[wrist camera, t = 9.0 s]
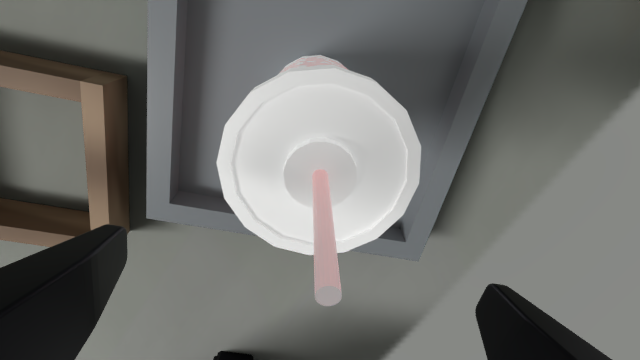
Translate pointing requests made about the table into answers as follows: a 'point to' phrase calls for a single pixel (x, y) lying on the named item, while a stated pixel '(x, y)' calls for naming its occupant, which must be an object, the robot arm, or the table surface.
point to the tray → (308, 40)
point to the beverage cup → (319, 163)
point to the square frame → (100, 150)
